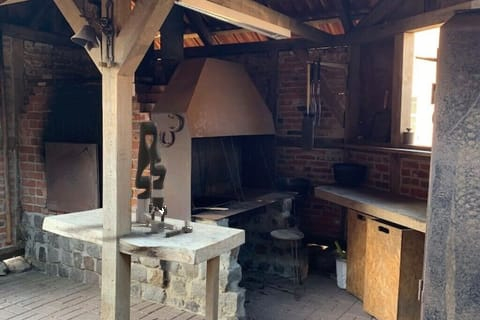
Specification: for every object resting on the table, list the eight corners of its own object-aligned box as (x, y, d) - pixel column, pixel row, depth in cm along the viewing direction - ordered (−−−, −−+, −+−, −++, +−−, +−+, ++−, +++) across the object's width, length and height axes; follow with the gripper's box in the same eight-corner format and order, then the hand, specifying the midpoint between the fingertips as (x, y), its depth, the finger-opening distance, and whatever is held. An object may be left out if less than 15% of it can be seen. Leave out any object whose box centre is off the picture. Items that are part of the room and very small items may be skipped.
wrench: (175, 234, 296) (139, 224, 308) (177, 233, 298) (141, 223, 310) (176, 222, 295) (140, 212, 307) (178, 222, 297) (142, 212, 309)
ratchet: (163, 236, 278) (163, 224, 277) (186, 230, 296) (186, 218, 295) (171, 237, 274) (171, 225, 273) (194, 231, 292) (194, 220, 291)
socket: (151, 232, 287) (151, 222, 287) (157, 230, 292) (157, 220, 292) (157, 233, 284) (157, 223, 284) (164, 231, 289) (164, 222, 288)
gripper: (145, 195, 287) (145, 220, 288) (161, 197, 279) (161, 223, 280) (154, 194, 293) (154, 218, 294) (170, 196, 285) (169, 221, 286)
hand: (157, 220), depth 287 cm, fingers open, 8 cm apart
